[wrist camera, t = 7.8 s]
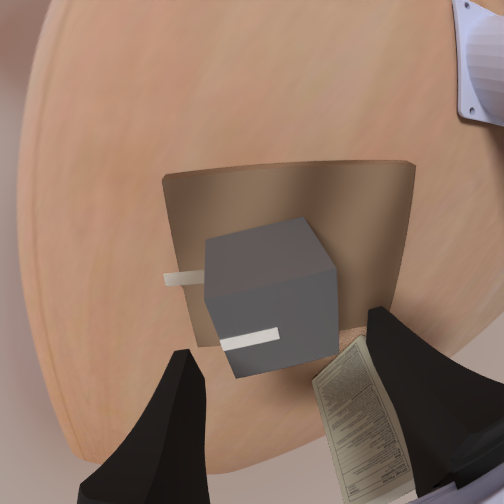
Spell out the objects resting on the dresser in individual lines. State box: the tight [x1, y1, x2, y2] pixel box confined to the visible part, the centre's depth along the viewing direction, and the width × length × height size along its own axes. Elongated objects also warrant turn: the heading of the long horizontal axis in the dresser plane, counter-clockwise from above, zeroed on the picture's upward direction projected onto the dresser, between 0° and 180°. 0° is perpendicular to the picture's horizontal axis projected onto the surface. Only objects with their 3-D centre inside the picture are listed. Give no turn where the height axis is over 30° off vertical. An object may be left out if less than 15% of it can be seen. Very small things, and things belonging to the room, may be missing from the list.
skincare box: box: [312, 335, 415, 504], centre depth 18 cm, size 6×4×12 cm
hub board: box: [162, 160, 416, 347], centre depth 16 cm, size 14×11×4 cm
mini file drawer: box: [204, 217, 339, 379], centre depth 14 cm, size 5×5×5 cm
